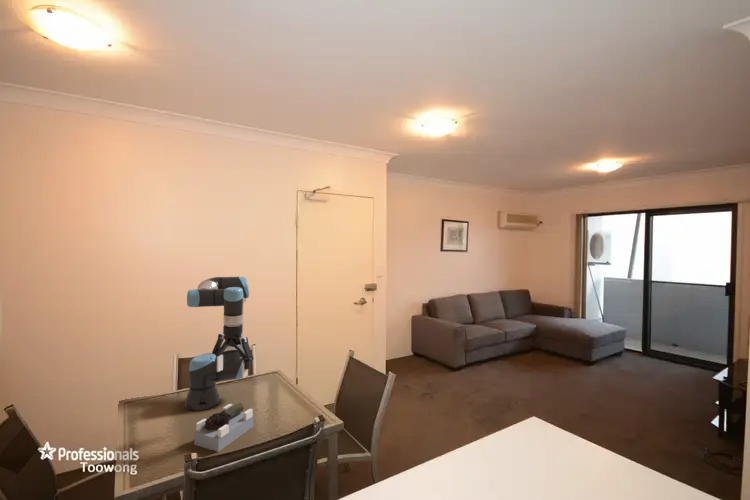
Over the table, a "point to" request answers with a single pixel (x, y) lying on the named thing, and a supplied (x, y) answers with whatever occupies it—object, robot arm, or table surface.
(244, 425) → the grey block with tabs
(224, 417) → the brown lumpy club
